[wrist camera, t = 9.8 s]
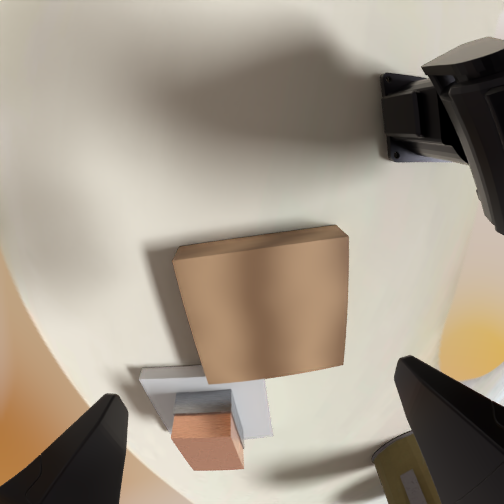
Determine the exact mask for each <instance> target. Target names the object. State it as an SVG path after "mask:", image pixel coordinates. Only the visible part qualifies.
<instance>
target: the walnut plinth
mask: <svg viewBox="0 0 504 504" xmlns="http://www.w3.org/2000/svg"><path fill="white" fill-rule="evenodd" d="M172 262H173V266H174V270H175V274H176V278H177V282H178V286H179V290H180V293H181V297H182V301H183V304H184V308H185V311H186V315H187V318H188V322H189V325H190V329H191V332H192V335H193V338H194V342H195V345H196V348H197V351H198V354H199V358H200V361H201V364H202V367H203V370H204V373H205V376H206V379H207V382H208V384H209V385H210V384H223V383H233V382H243V381H252V380H260V379H267V378H274V377H281V376H287V375H294V374H299V373H305V372H310V371H316V370H321V369H326V368H331V367H335V366H340V365H343V362H344V351H345V338H346V324H347V306H348V277H349V236H348V235H347V234H346V233H344V232H343V231H342V230H341V229H340V228H339V227H338V226H337V225H332V226H325V227H317V228H309V229H301V230H294V231H286V232H279V233H271V234H264V235H257V236H249V237H242V238H235V239H228V240H221V241H214V242H207V243H200V244H193V245H187V246H180V247H179V248H178V250H177V252H176V254H175V256H174V258H173V260H172Z"/></svg>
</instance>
